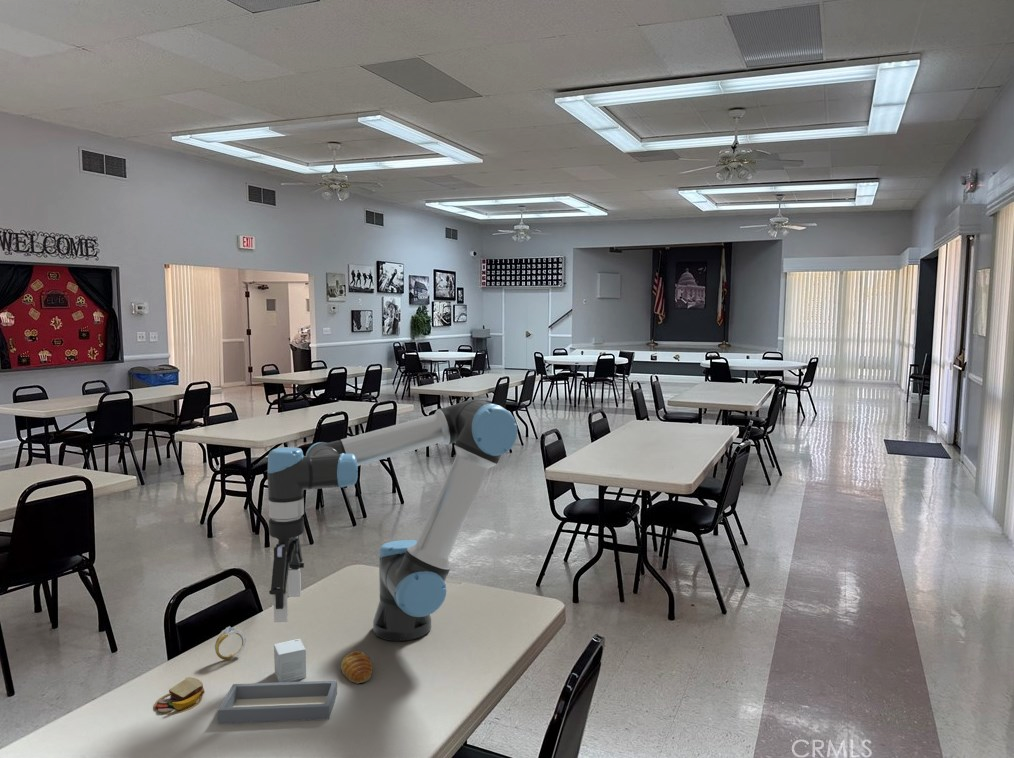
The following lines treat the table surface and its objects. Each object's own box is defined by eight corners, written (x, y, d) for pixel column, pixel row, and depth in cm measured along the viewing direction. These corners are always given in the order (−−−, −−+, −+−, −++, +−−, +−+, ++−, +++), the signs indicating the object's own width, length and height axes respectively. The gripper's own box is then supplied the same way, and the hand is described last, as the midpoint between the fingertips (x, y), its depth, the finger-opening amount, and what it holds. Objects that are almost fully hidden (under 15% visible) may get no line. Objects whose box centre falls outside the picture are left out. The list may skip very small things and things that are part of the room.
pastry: (378, 682, 158) (378, 666, 157) (348, 688, 155) (348, 672, 154) (366, 662, 166) (367, 647, 166) (338, 668, 163) (338, 652, 162)
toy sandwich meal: (145, 707, 148) (145, 691, 148) (192, 687, 156) (192, 672, 155) (166, 723, 142) (165, 707, 142) (214, 702, 150) (213, 686, 150)
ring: (216, 666, 165) (215, 633, 164) (214, 660, 167) (213, 628, 167) (247, 658, 168) (246, 626, 168) (244, 653, 171) (243, 621, 170)
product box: (274, 673, 161) (273, 643, 161) (301, 667, 164) (300, 637, 164) (279, 686, 156) (278, 655, 155) (306, 679, 159) (306, 648, 158)
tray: (337, 695, 152) (337, 680, 152) (329, 722, 142) (329, 706, 142) (233, 699, 150) (233, 684, 150) (218, 726, 140) (217, 710, 140)
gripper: (282, 502, 169) (284, 587, 171) (253, 534, 144) (256, 633, 146) (314, 501, 169) (315, 586, 171) (290, 534, 145) (292, 632, 147)
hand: (288, 608), depth 159 cm, fingers open, 13 cm apart
